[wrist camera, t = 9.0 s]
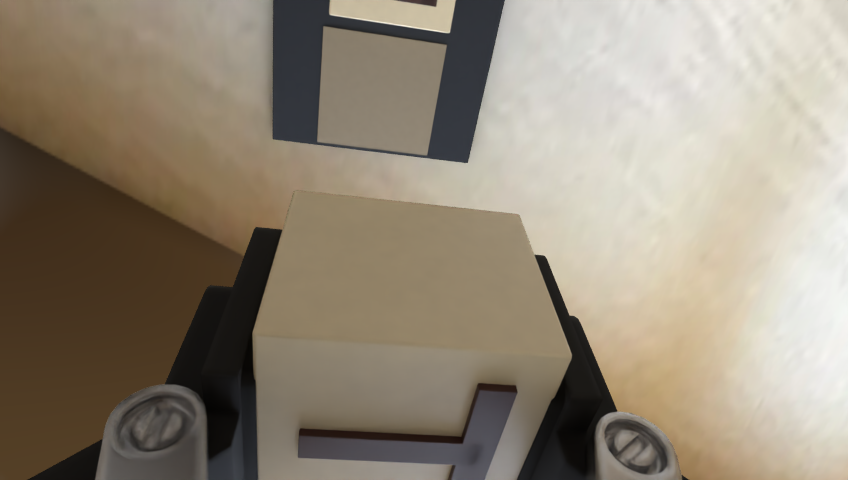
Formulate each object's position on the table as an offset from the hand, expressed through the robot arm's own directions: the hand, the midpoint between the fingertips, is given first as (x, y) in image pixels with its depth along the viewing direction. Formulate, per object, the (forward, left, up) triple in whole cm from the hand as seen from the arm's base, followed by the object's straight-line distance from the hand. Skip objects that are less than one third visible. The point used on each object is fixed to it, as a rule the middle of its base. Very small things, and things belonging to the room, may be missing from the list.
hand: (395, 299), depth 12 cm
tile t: (0, 0, 0) cm, 0 cm away
